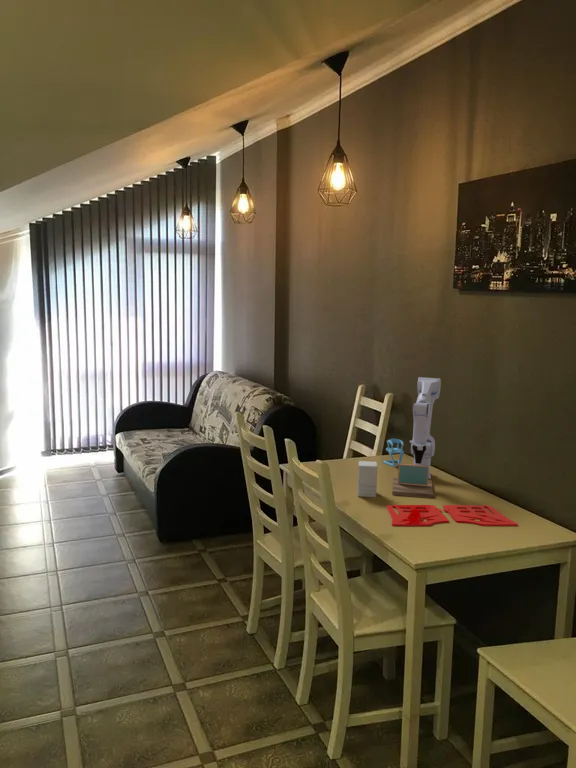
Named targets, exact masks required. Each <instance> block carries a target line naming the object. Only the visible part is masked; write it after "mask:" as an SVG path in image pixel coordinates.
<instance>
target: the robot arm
mask: <svg viewBox="0 0 576 768" xmlns="http://www.w3.org/2000/svg"><path fill="white" fill-rule="evenodd" d="M417 379H418V380H417V385H416V389H417V395H418V396H417V398H416V402H415V403H413V405H412V414H413V425H412V426H413V427H412V428H413V429H412V430H413V431H412V440H409V444H410V454H412V455H413V464H412V465H424V466H429V470H428V480H430V479H431V478H432V477H431V462H432V461H431V459H432V457H433V456H435V450H436V440H435V438H434V436H432V435H431V425H432V418H433V417H432V415H433V408H434V407H433V406H434V403H435V401H436V400H438V399H439V398H440V393H441V388H442V387H441V386H442V379H441V378H440V377H438V378H435V377H434V378H433V377H422V376H418V378H417Z"/></svg>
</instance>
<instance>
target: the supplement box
mask: <svg viewBox="0 0 576 768" xmlns="http://www.w3.org/2000/svg"><path fill="white" fill-rule="evenodd" d="M357 468H358V474H357V475H358V476H357V496H358V497H364V498H365V497H366V498H376V497H377V490H378V489H377V488H378V487H377V483H378V462H377V461H371V460H370V461H366V460H359V461H358V467H357Z"/></svg>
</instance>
